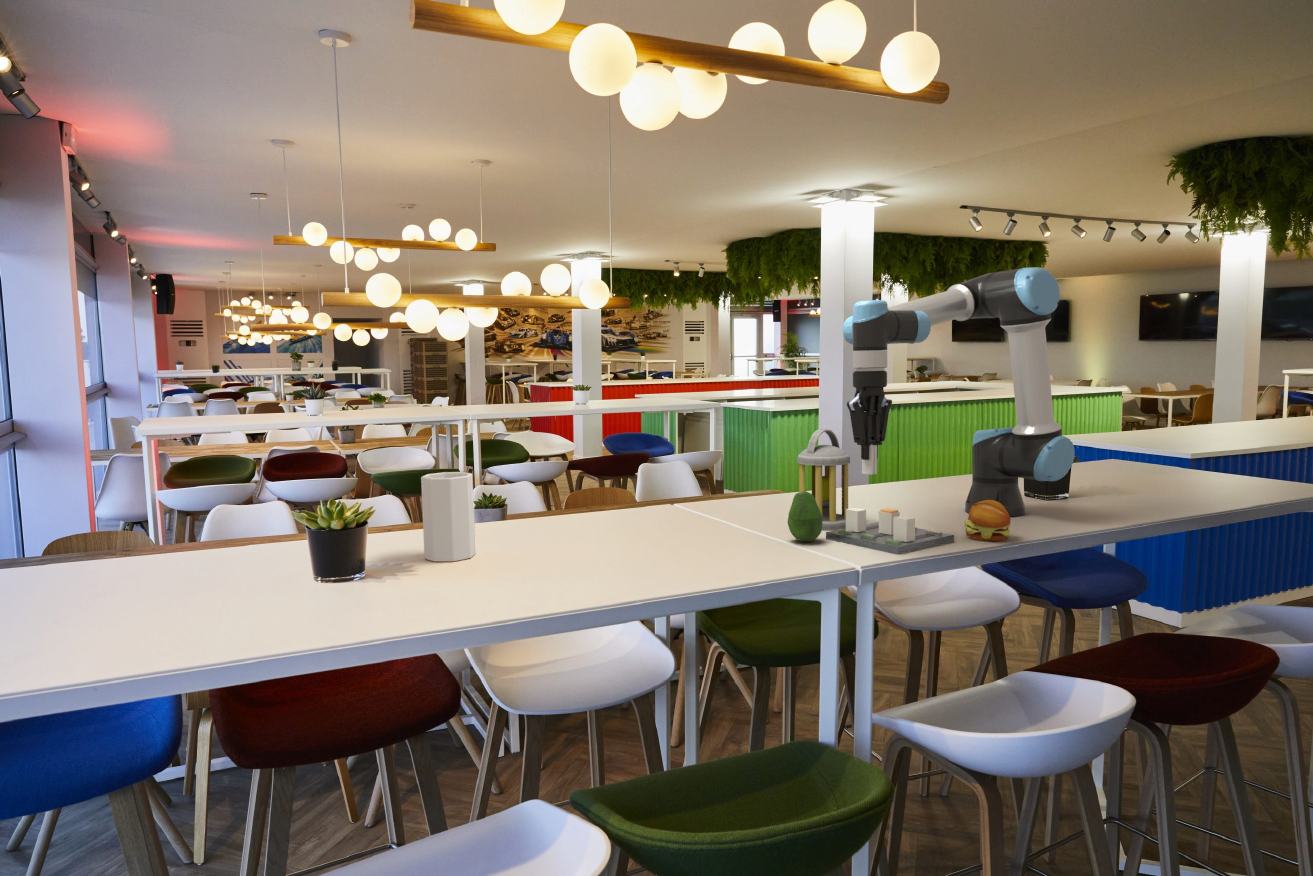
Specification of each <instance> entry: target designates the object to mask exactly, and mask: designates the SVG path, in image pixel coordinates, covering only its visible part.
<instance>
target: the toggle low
mask: <svg viewBox="0 0 1313 876" xmlns="http://www.w3.org/2000/svg"><path fill="white" fill-rule="evenodd" d="M866 524H867V510H866V509H862V508H858V507H857V508H855V507H852V508H848V509H846V530H849V531H854V532H861V531H866Z"/></svg>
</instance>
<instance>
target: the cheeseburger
mask: <svg viewBox="0 0 1313 876" xmlns="http://www.w3.org/2000/svg"><path fill="white" fill-rule="evenodd" d="M1010 526H1011V516H1009V514H1008V512H1007V511H1006V509H1005V508H1004V506H1003V505H1002V504H1001V503H999V502H997V501H994V500H985V501H981V502H978V503H975V504H974V505H972V507H971V508H970V510H969V513H968V517H967V519H966V520H965V522H964V527H965V533H966V534H965V535H966V537H968V538H970V539H972V540H975V541H982V542H983V541H985V542H998V541H999V542H1000V541H1001V542H1002V541H1005V540H1006V539H1008V537H1009V536H1010V534H1011V530H1010V529H1009V527H1010Z"/></svg>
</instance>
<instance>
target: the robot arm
mask: <svg viewBox="0 0 1313 876" xmlns="http://www.w3.org/2000/svg"><path fill="white" fill-rule="evenodd" d="M1060 297H1061V292H1060V286H1059V283H1058V281H1057V279H1056V278H1055V276H1054V275H1053V273H1051V272H1050V271H1049V270H1047V269H1046V268H1043V267H1022V268H1017V269H1010V270H1004V271H1003V270H1002V271H994V272H989V273H985V274H982V275H980V276H977V277H973V278H971V279H968V280H965V281H961V282H960V283H956V284H953V285H951V286H949V288H948V289H947V290H946V291H942V292H939V293H936V294H931V295H927V296H924V297H921V298H917V299H913V300H910V301H905V302H903V303H899V304H895V305H892V306H889V305H888V302H887V301H886V300H882V299H879V300H878V299H873V300H872V299H871V300H860V301H856V303H854V305H853V309H852V315H850V316H849V317H847V318H846V319H845V321H844V322H843V325H842V335H843V338H844V340H845V341H846V342H847V343H848V344H850V345H851V346H852V350H853V351H852V352H853V353H852V365H853V366H852V368H853V369H855V371H853V372H852V387H853V388H855V393H854V398H853V399H852V400H851V401H850V400H849V401H847V402H846V406H847V410H848V411H849V417H850V423H851V429H852V435H853V442H854V444H855V443H856V445H858V446H860V459H861V474H863V475H870V476H872V475H877V474H878V458H879V457H878V456H879V446H882V445H883V442H885V440H886V435H887V434H886V433H887V428H888V420H889V414H890V409H891V407H892V404H893V400H892V399H887V397H886V395H885V391H884V388H886V387H887V386H888V372H887V370H885V369H888V345H894V344H912V345H913V344H918V343H919V344H920V343H923V342H924V341H925V340H927V338H928V337H929V335H930V334H931V329H932V328H931V327H932V326H936V325H939V324H943V323H946V322H951V321H953V320H956V321H958V322H963V321H967V320H970V319H971V320H972V319H973V320H974V319H995V318H997V319H999V322H1000V323H999V324H1000V327H1001V328H1002V329H1004V331H1006V333H1007V336H1008V337H1007V338H1008V347H1009V357H1010V365H1011V374H1012V385H1013V395H1014V403H1015V414H1016V425H1015V426H1014V427H1004V428H1003V427H1002V428H989V429H978V430H976V431H975V433H974V434H973V437H972V445H971V447H972V448H971V449H972V451H971V452H972V456H971V457H972V458H971V459H972V464H971V465H972V467H971V469H972V473H971V474H972V480H971V481H972V482H971V486H970V489H969V492H968V495H967V497H966V500H965V502H964V503H965V504H964V509H965V510H964V511H965V512H966V513H968V514H969V510H970V508H971V507H972V505H974V504H975V503H978V502H981V501H985V500H994V501H997V502H999V503H1001V504H1002V505H1003V506H1004V508H1005V509H1006V511H1007V512H1008V514H1009V516H1010V517H1018V516H1022V515H1026V514H1025V512H1026V511H1025V510H1026V508H1025V507H1026V506H1025V501H1024V499H1023V496H1022V493H1021V490H1020V487H1019V478H1021V479H1027V480H1034V481H1035V480H1036V481H1037V482H1046V481H1047V482H1056V481H1059V480H1061V479H1063V478H1064V477H1065V476H1066V475H1067V474H1068V472H1069V470H1070V469H1071V468H1072V466H1073V463H1074V460H1075V455H1076V454H1075V446H1074V443H1073V442H1072V441H1071V439H1070V438H1069V437H1066V436H1064V435H1063V430H1062V429H1063V428H1062V425H1061V424H1060V423H1058V422H1056V420H1055V417H1054V408H1053V397H1052V396H1053V395H1052V385H1051V376H1050V374H1051V373H1050V366H1049V353H1048V344H1047V334H1046V326H1047V325H1048V324H1049V322H1051V320H1052V316H1051V313H1053V312H1054V311H1055V310H1057V307H1058V305H1059V304H1058V303H1060V302H1059V301H1060ZM888 306H889V307H888Z"/></svg>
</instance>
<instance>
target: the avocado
mask: <svg viewBox="0 0 1313 876" xmlns="http://www.w3.org/2000/svg"><path fill="white" fill-rule="evenodd" d="M822 525H823V523H822V515H821V513H820V510H819V507H818V505H817V503H816V501H815V498H814V496H813V495H812V492H811V493H810V492H809V491H807V490H805V491H801V492H797V493H795V495H793V498H792V503H791V505H790V509H789V511H788V517H787V526H788V528H789V529H788V530H789V532H790V533H791V535H792V536H793V537H794V538H795V539H797V540H798V541H801V542H804V543H805V542H807V543H810V542H813V541H816V539H818V538H819V536H820V534H821V533H822Z"/></svg>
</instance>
